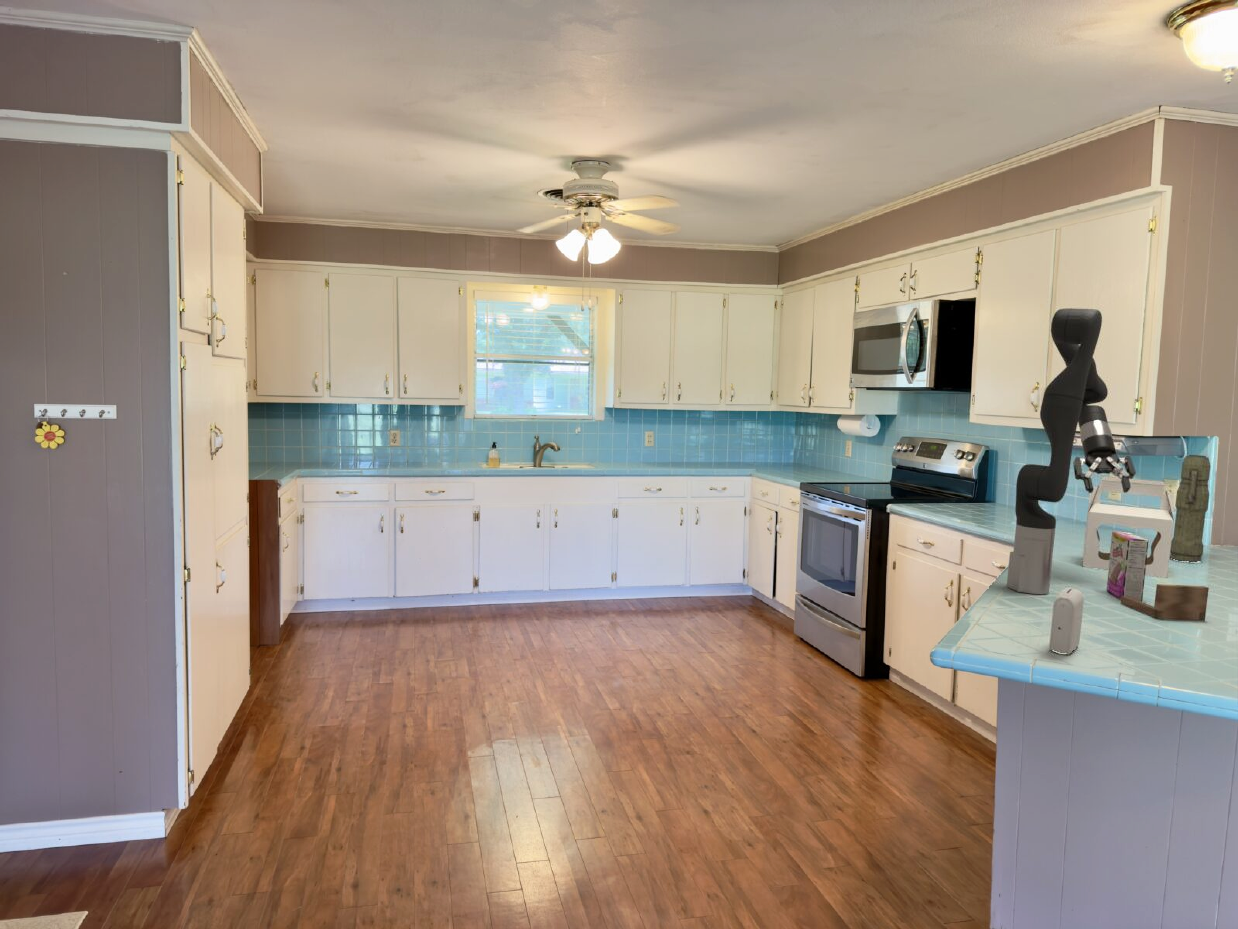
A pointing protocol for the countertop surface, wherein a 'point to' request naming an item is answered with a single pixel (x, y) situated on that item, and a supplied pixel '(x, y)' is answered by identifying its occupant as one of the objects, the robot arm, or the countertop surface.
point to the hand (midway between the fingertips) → (1108, 491)
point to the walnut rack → (1174, 602)
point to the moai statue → (1191, 509)
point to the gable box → (1130, 523)
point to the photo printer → (1066, 621)
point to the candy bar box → (1127, 565)
